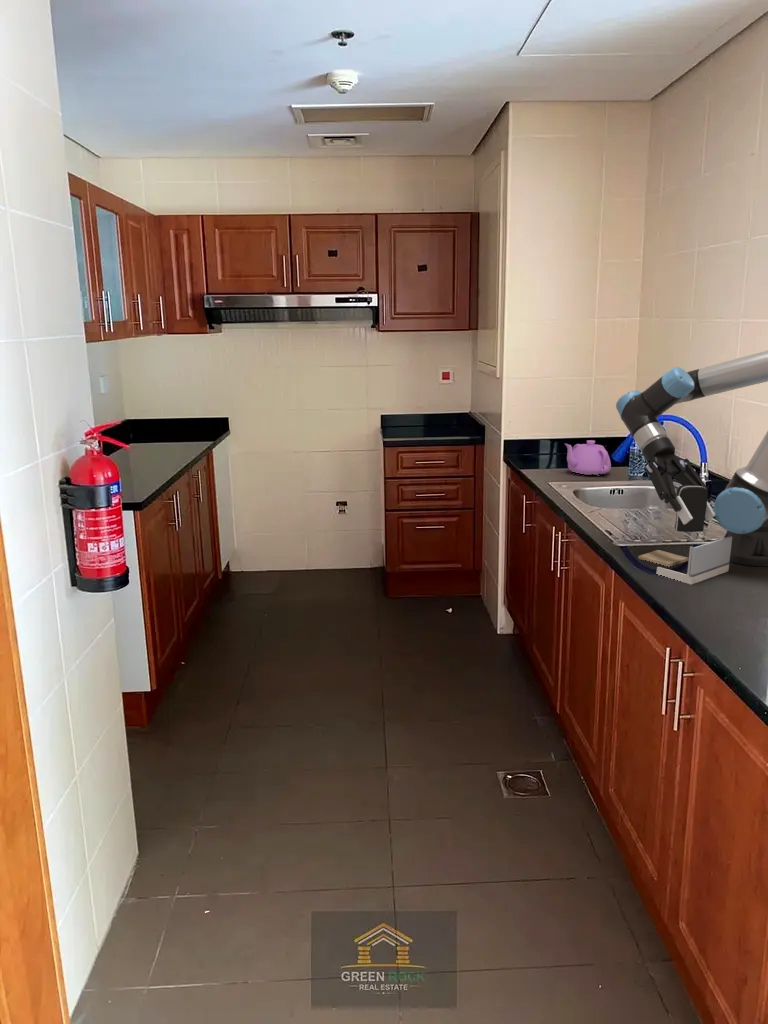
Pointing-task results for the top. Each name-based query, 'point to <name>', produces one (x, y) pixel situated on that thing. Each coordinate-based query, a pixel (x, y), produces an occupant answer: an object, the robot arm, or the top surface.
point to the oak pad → (663, 558)
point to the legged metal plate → (703, 562)
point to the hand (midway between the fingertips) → (699, 519)
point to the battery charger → (692, 507)
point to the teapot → (588, 458)
